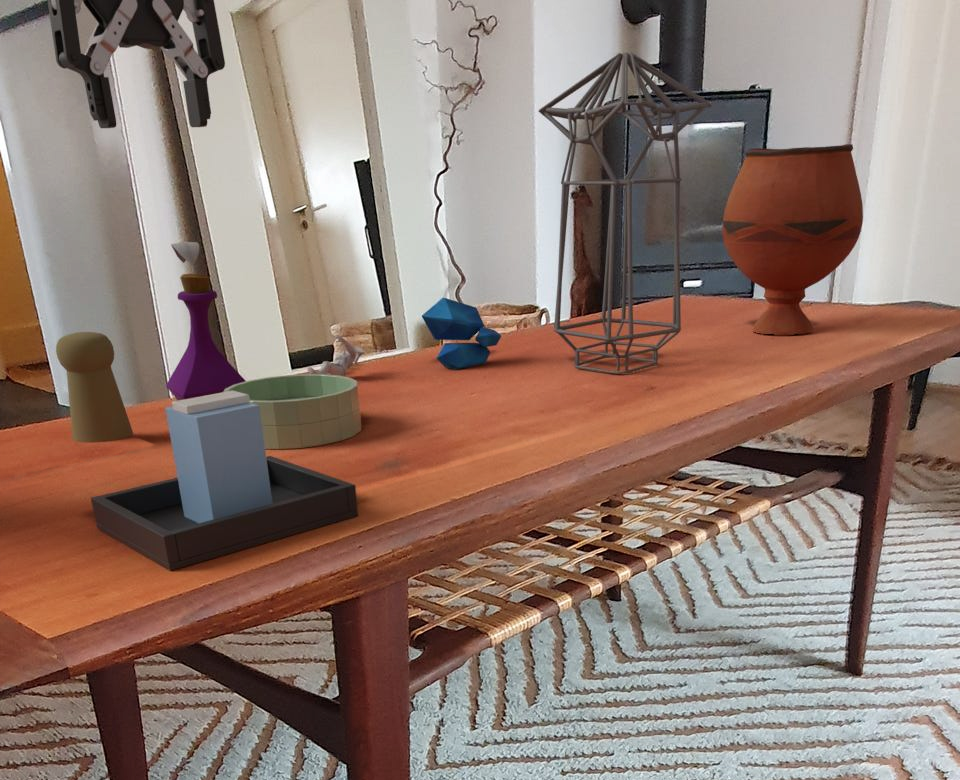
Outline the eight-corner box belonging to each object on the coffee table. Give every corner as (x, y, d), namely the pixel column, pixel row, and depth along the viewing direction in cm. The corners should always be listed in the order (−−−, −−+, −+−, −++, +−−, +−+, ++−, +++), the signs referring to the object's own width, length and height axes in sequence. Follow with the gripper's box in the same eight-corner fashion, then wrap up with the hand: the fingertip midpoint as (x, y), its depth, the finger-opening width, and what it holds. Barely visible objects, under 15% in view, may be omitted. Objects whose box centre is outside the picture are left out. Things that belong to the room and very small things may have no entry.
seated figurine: (284, 399, 119) (317, 352, 127) (317, 423, 121) (347, 375, 129) (315, 358, 114) (346, 311, 122) (348, 384, 116) (377, 336, 124)
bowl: (273, 462, 90) (266, 408, 87) (206, 439, 99) (198, 389, 96) (387, 435, 97) (383, 384, 95) (315, 415, 106) (310, 369, 104)
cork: (60, 452, 96) (33, 337, 91) (98, 437, 101) (75, 328, 96) (111, 455, 94) (87, 338, 89) (148, 439, 99) (127, 328, 94)
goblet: (696, 326, 153) (706, 150, 142) (809, 319, 156) (828, 145, 145) (747, 345, 136) (764, 146, 125) (873, 336, 139) (900, 141, 128)
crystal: (515, 308, 128) (448, 296, 120) (506, 375, 131) (439, 368, 123) (478, 304, 133) (410, 292, 125) (470, 369, 136) (403, 361, 128)
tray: (170, 571, 66) (163, 536, 64) (97, 528, 74) (90, 497, 73) (358, 515, 75) (355, 484, 74) (274, 483, 83) (270, 455, 82)
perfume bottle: (255, 416, 107) (231, 241, 99) (188, 426, 104) (157, 246, 96) (234, 404, 113) (210, 238, 105) (170, 414, 110) (140, 243, 102)
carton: (215, 531, 71) (195, 409, 67) (184, 516, 74) (163, 399, 71) (274, 515, 74) (258, 396, 70) (241, 501, 77) (224, 387, 73)
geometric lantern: (531, 368, 126) (528, 57, 111) (612, 351, 135) (619, 61, 120) (623, 384, 115) (634, 41, 100) (704, 364, 125) (725, 48, 109)
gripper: (178, -79, 85) (207, 129, 92) (12, -100, 77) (58, 130, 84) (219, -97, 80) (247, 124, 87) (46, -122, 72) (92, 125, 79)
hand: (154, 127), depth 86 cm, fingers open, 8 cm apart
